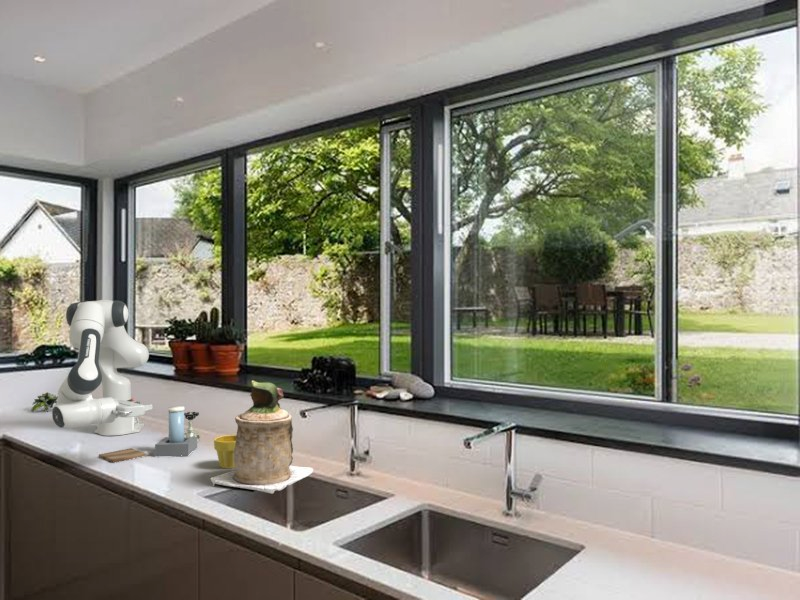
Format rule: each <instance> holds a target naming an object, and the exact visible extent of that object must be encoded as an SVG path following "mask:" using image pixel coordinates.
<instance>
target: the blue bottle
mask: <svg viewBox="0 0 800 600" xmlns="http://www.w3.org/2000/svg"><path fill="white" fill-rule="evenodd" d="M167 409H168V410H167V412H168V437H169V443H184V433H185V415H184V413H185V410H186V409H185V406H183V405H182V406H181V405H179V406H178V405H176V406H175V405H174V406H169V407H168V408H167Z"/></svg>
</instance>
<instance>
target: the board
mask: <svg viewBox="0 0 800 600" xmlns="http://www.w3.org/2000/svg"><path fill="white" fill-rule="evenodd" d="M142 456H145V457H147V453H146V452H143V451H139V450H138V449H134V448H132V447H131V448H125V449H120V450H115V451H109V452H106V453H105V452H104V453H100V454H98V457H99V459H103V460H104V461H105V460H106V461H107V460H108V462H109V461H110V463H112V464H115V462H116V463H120V462H119V461H121V462H125V461H124V460H126V461H129V459H131V460H134V459H133V458H135V459H138V458H137V457H140V458H143V457H142Z"/></svg>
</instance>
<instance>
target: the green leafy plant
mask: <svg viewBox="0 0 800 600" xmlns="http://www.w3.org/2000/svg"><path fill="white" fill-rule="evenodd" d="M36 397H37V398H36V399H35V398H34V401H33V402H32V408H31V410H30V411H31V412H32V413H34V411H37V410H38V409H40V408H42V407H43V408H44V409H45V410H47V411H46V412H47V413H48V412H49V410H50V409H53V408H54V404H56V403H57V400H58V395H56V394H52V393H50V392H48V391H47V392H45V393H42V394H41V395H37V396H36Z"/></svg>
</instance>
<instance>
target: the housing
mask: <svg viewBox="0 0 800 600" xmlns="http://www.w3.org/2000/svg"><path fill="white" fill-rule="evenodd" d="M196 448H197V449H198V443H197V437H184V443H169V436H165V437H164V438H162V439H161V440H160V441H158V442H157V443H155V444H154V457H155V456H176V457H189V456H190V455H191V454H192V453H193V452H192V451H194V450H195V449H196ZM197 449H196V450H197ZM196 450H195V451H196ZM195 451H194V452H195ZM191 452H192V453H191ZM190 453H191V454H190ZM189 454H190V455H189ZM181 455H182V456H181ZM188 455H189V456H188Z"/></svg>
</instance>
